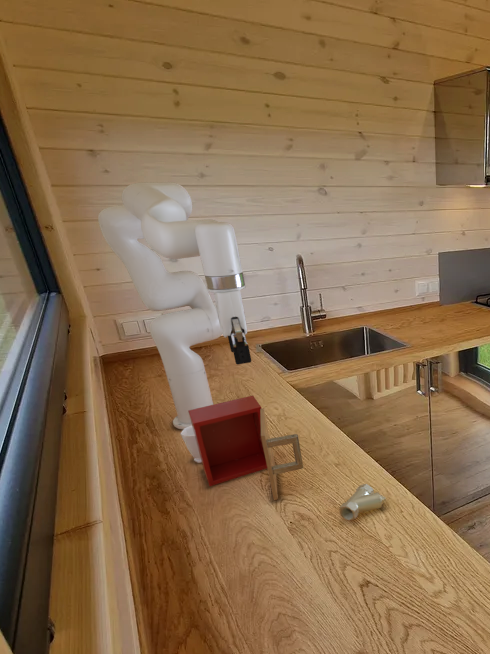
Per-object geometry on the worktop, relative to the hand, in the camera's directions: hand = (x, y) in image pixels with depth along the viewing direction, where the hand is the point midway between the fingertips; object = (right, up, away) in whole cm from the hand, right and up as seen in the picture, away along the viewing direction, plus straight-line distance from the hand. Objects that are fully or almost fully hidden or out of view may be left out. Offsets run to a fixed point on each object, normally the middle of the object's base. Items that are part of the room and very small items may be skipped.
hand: (241, 356), depth 112 cm
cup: (-15, -24, +11) cm, 30 cm away
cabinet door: (+11, -28, 0) cm, 30 cm away
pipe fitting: (+31, -33, -11) cm, 46 cm away
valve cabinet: (-3, -27, +5) cm, 27 cm away
